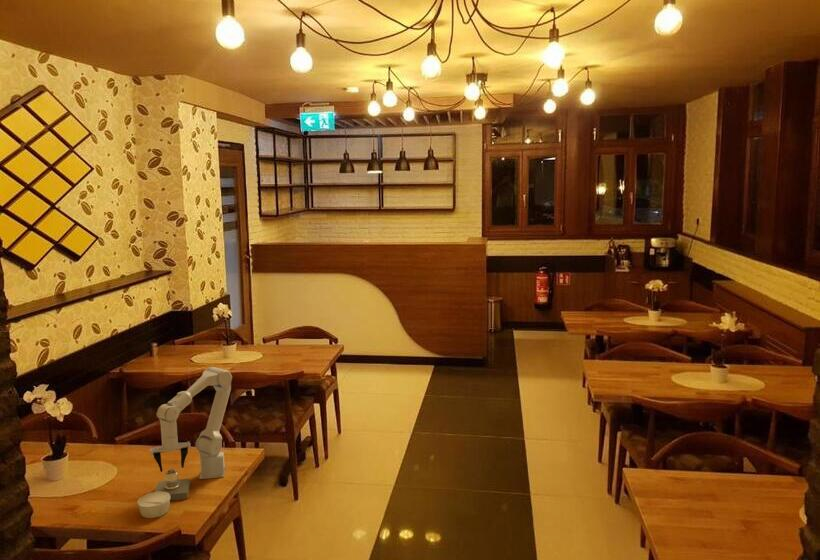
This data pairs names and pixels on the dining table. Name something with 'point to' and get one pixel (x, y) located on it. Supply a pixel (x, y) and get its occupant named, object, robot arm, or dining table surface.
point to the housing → (171, 479)
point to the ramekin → (154, 504)
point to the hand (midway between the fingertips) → (171, 468)
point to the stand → (176, 493)
